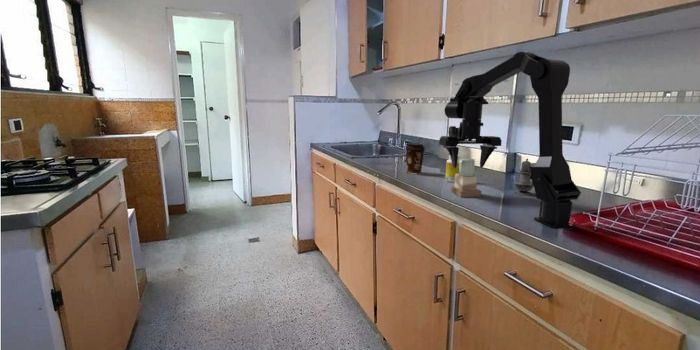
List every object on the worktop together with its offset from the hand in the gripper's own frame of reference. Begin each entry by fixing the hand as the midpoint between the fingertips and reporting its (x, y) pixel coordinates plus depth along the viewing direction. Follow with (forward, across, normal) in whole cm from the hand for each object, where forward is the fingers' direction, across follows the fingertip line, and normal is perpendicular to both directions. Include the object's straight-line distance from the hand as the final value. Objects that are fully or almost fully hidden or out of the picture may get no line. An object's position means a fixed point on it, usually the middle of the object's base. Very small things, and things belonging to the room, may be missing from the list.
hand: (468, 167), depth 110 cm
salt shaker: (+9, -20, +1) cm, 22 cm away
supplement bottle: (+9, -5, -21) cm, 23 cm away
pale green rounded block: (+2, 0, 0) cm, 2 cm away
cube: (+7, 0, 0) cm, 7 cm away
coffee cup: (+9, +5, -39) cm, 40 cm away
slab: (+10, 0, 0) cm, 10 cm away
